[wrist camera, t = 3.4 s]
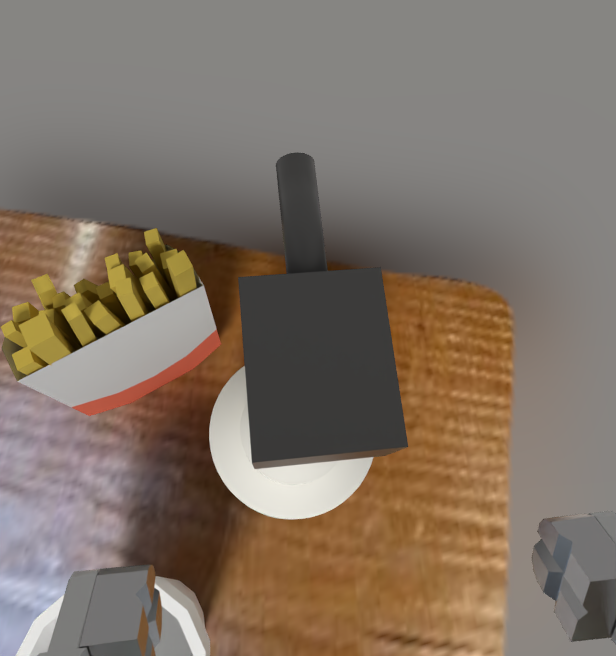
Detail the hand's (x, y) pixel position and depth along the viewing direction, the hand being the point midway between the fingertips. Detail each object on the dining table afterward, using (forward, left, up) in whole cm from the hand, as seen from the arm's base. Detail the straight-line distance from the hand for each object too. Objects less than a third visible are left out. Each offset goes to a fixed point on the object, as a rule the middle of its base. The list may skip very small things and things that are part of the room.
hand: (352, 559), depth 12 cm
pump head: (0, +7, -11) cm, 13 cm away
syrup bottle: (0, +5, -32) cm, 32 cm away
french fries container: (-10, +13, -32) cm, 36 cm away
